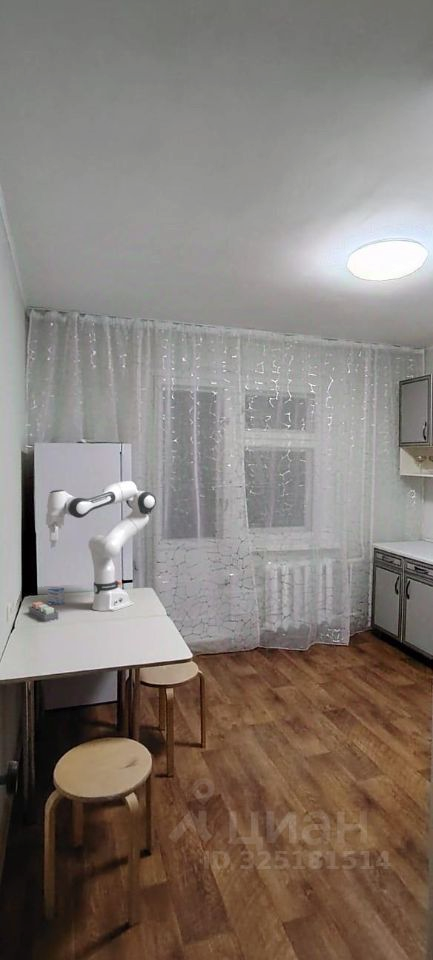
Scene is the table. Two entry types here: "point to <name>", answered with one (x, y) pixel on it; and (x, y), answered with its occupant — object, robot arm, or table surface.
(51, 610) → the sage key
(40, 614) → the grey compartment tray
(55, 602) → the medicine box
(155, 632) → the table surface
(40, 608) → the light grey square block
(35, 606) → the terracotta key
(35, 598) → the table surface
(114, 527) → the robot arm
